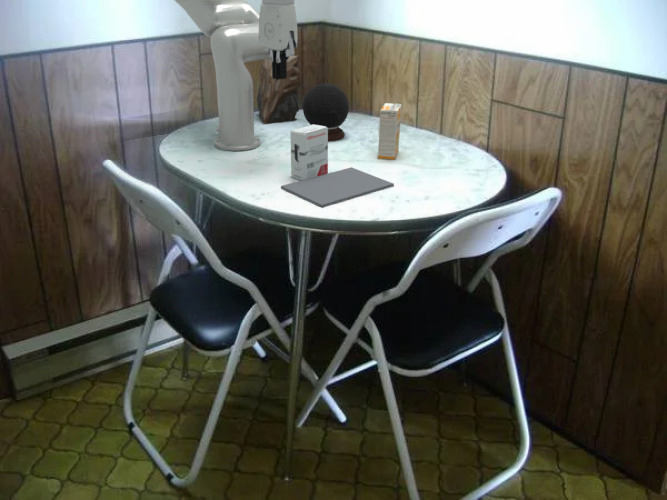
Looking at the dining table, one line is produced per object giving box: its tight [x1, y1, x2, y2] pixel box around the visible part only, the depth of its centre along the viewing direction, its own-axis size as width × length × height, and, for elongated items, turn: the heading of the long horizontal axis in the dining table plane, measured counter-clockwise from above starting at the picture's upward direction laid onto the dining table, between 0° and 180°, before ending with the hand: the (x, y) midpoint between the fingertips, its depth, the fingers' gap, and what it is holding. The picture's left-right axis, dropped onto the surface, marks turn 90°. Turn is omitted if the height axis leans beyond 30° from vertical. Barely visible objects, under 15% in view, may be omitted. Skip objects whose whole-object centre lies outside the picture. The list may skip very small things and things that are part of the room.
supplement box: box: [377, 102, 402, 160], centre depth 183 cm, size 8×5×13 cm, turn 168°
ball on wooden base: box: [302, 83, 350, 143], centre depth 198 cm, size 13×13×15 cm
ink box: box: [290, 124, 329, 181], centre depth 168 cm, size 8×5×12 cm, turn 139°
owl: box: [256, 55, 301, 125], centre depth 214 cm, size 13×13×20 cm
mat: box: [280, 167, 395, 208], centre depth 163 cm, size 15×22×1 cm
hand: (279, 78), depth 169 cm, fingers closed
